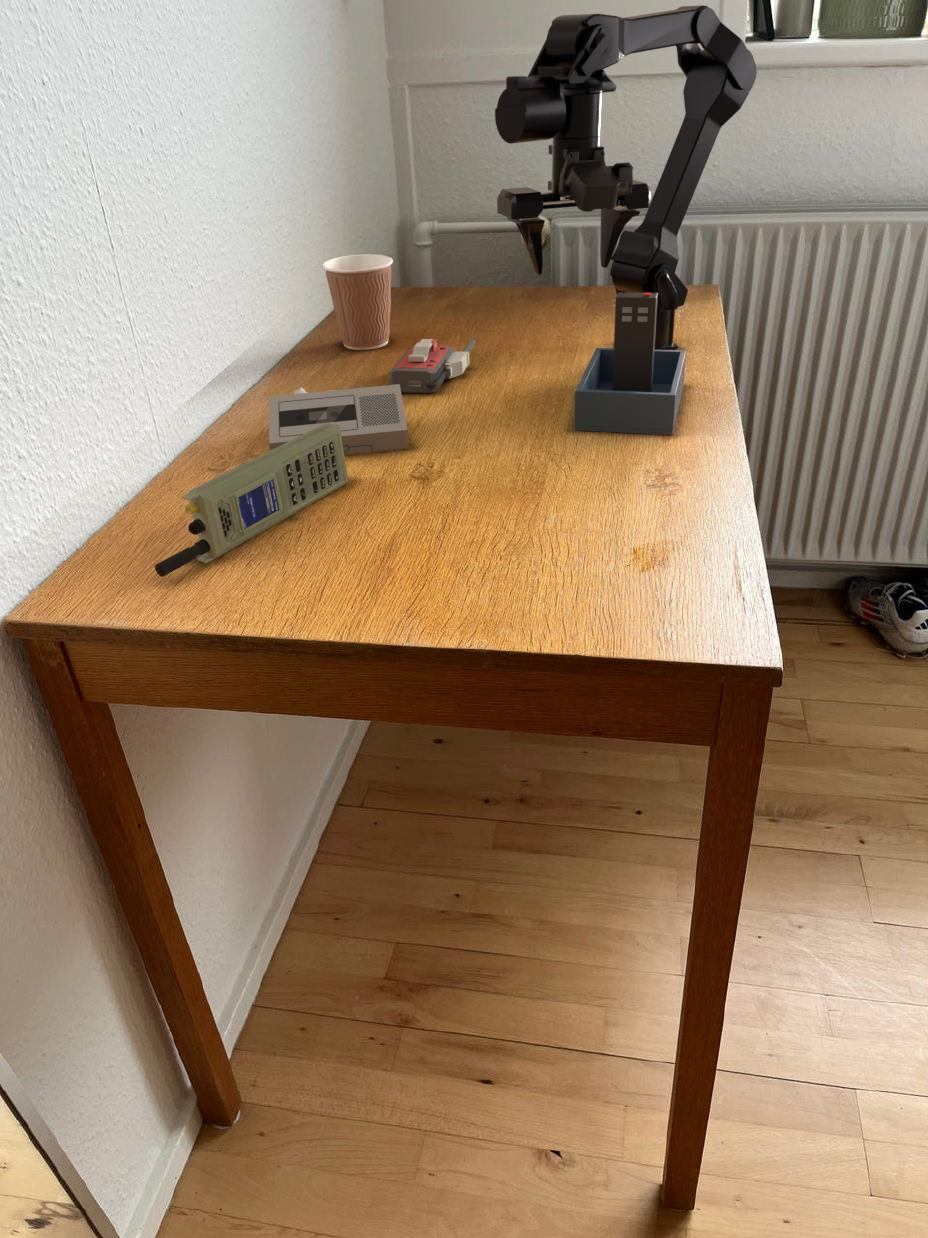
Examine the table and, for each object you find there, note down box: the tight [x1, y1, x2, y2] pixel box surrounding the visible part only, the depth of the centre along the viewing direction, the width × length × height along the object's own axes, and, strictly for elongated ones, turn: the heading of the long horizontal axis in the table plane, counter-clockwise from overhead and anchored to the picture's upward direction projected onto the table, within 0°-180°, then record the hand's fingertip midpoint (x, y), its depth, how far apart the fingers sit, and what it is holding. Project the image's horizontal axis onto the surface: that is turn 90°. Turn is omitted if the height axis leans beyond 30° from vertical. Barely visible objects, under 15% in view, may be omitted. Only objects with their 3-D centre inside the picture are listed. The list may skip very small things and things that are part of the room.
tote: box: [573, 347, 687, 436], centre depth 116 cm, size 16×11×5 cm
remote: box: [612, 292, 658, 392], centre depth 114 cm, size 2×5×13 cm, turn 75°
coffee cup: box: [322, 253, 394, 351], centre depth 143 cm, size 10×10×12 cm
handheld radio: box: [154, 423, 349, 578], centre depth 93 cm, size 7×3×25 cm
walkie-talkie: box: [388, 338, 477, 394], centre depth 132 cm, size 9×4×20 cm
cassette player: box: [267, 384, 410, 456], centre depth 112 cm, size 16×3×10 cm
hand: (571, 270), depth 124 cm, fingers open, 9 cm apart
